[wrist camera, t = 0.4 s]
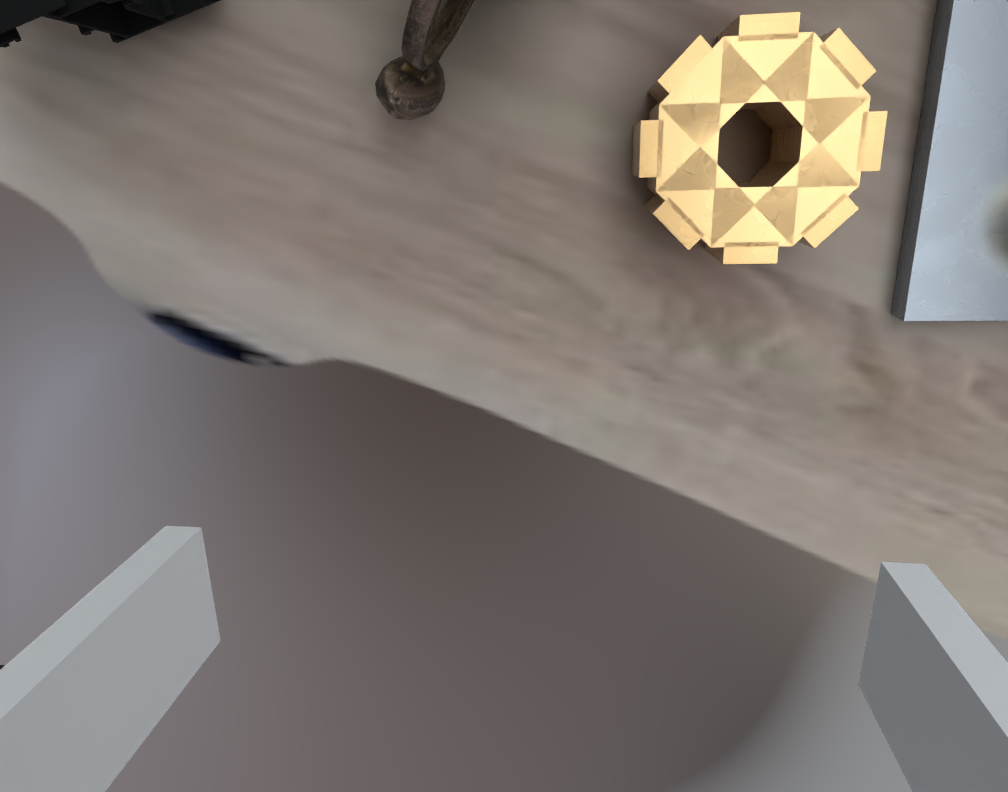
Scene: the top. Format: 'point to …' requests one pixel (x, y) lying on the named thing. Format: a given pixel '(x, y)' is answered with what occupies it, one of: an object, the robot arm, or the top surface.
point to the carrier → (960, 173)
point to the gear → (794, 141)
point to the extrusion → (95, 15)
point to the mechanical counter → (420, 59)
